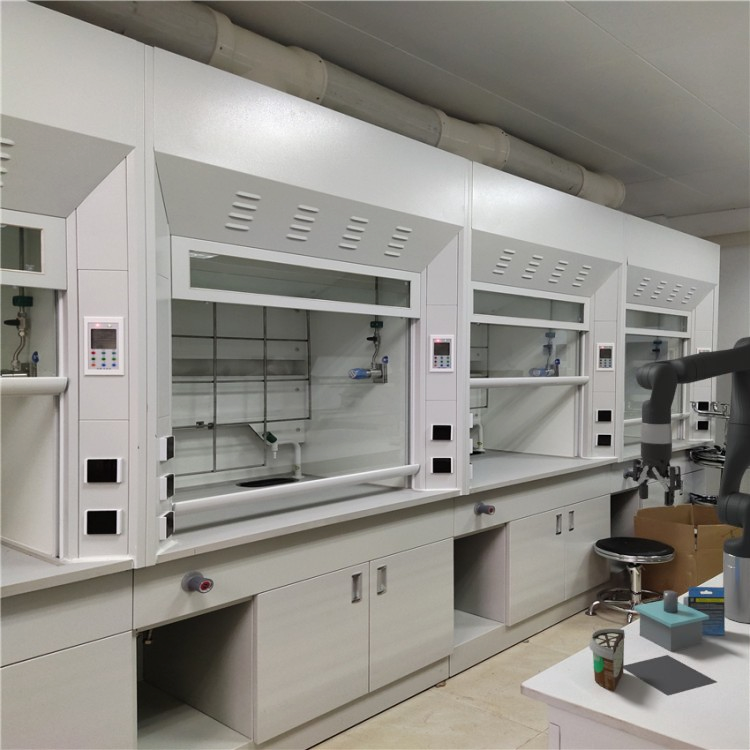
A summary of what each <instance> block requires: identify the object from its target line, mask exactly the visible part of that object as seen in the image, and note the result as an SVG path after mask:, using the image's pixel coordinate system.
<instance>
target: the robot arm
mask: <svg viewBox="0 0 750 750" xmlns="http://www.w3.org/2000/svg"><path fill="white" fill-rule="evenodd" d="M727 374H731V392H730V393H731V394H730V403H729V404H730V405H729V406H730V407H729V415H728V420H727V421H728V422H727V423H728V424H727V430H726V431H727V432H726V443H725V444H726V446H725V456H724V462H723V463H724V464H723V470H722V475H721V479H720V486H719V490H718V496H717V500H716V516H717V519H718V520H719V522H720V523H721V524H724V525H726V526H731V527H735V528H739V529H742V530H743V531H742V534H741V535H742V536H738V537H737V536H736V537H729V538H726V539H725V540H724V541H723V546H722V547H723V550H722V551H723V552H722V553H723V554H722V556H723V557H722V559H723V561H722V564H723V566H722V570H723V571H722V572H723V573H722V587H724V599H725V618H726V619H729V620H731V621H733V622H734V621H735V622H739V623H743V624H744V623H745V624H750V493H745V492H740V489H741V485H742V484H741V483H742V480H743V478H744V475H745V473H746V471H747V470H748V469H749V467H750V336H746V337H742V338H740V339H738V340H737V341H736V342H735V344H734V345H733V348H728V349H721V350H714V351H713V350H712V351H705V352H699V353H694V354H691V355H690V354H689V355H686V356H681V357H678V358H673V359H669V360H668V359H665V360H659V361H658V360H657V361H651V362H648V363H647V362H646V363H645V364H643V365H641V366H640V367H639V368H638V369H637V372H636V375H635V378H636V382H637V384H638V385H639V386H640V387H641V388H642V389H645V390H649V391H651V394H650V397H649V399H646V400H644V402H642V406H641V427H640V457H641V458H635V459H633V463H632V468H633V469H632V481H633V482H636V483H637V485H638V494H639V495H638V496H639V498H640V500H648V499H649V485H648V483H649V482H650V480H652V479H654V480H655V481H658V483H659V484H660V485H662V487H663V489H664V494H663V495H664V496H663V497H664V506H665V507H672V506H673V505H674V504H675V492H676V491H679V490H682V475H681V473H682V472H681V466H680V465H674V466H671V463H670V462H671V460H672V458H673V429H672V404H673V402H674V398H675V395H676V391H677V387H678V385H685V384H692V383H695V382H700V381H703V380H708V379H711V378H716V377H719V376H725V375H727Z"/></svg>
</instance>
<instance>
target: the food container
mask: <svg viewBox="0 0 750 750" xmlns="http://www.w3.org/2000/svg"><path fill="white" fill-rule="evenodd" d="M625 635H626V634H625V629H622V628H621V629H620V628H602V629H599V630H596V631H594V632H593V633H592V634H591V637H590V640H589V644H588V646H589V650H591V652H592V660H593V661H592V663H593V673H594V675H593V676H594V681H595V683H596V684H597V685H598V686H600V687H601V688H603V689H605V690H607V691H611V692H615V690H616V688H617V686H618V683H619V682H620V679H621V678H622V676H623V674H624V669H623V668H624V665H625V664H624V661H625V660H624V659H625V655H624V654H625V653H624V652H625Z"/></svg>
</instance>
